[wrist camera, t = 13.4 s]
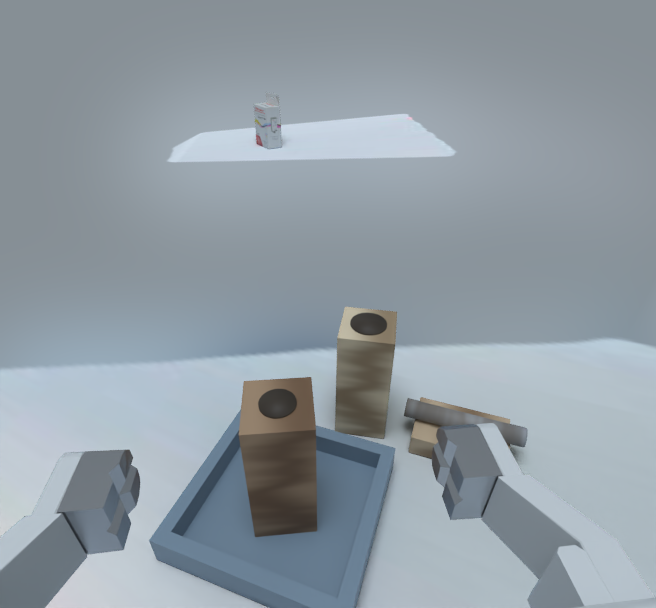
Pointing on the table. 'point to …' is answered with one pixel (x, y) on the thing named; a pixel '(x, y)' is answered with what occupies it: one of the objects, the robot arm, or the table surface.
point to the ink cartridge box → (268, 122)
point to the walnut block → (280, 455)
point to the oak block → (364, 371)
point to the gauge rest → (452, 424)
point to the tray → (289, 549)
